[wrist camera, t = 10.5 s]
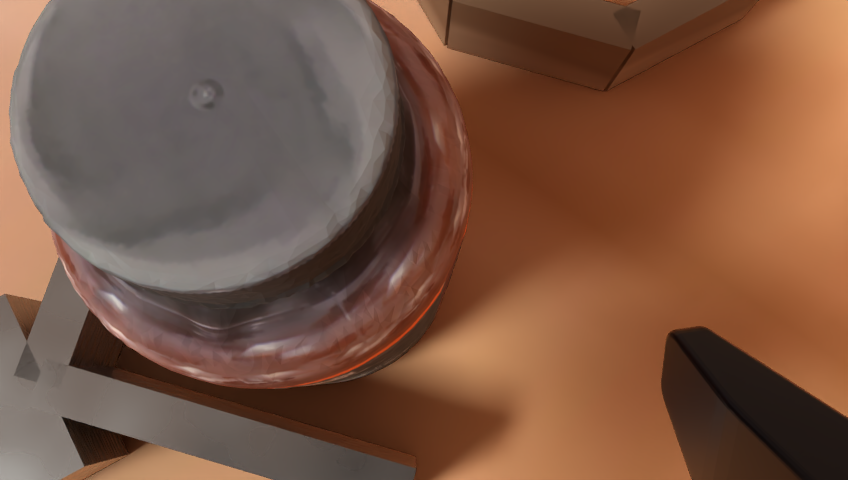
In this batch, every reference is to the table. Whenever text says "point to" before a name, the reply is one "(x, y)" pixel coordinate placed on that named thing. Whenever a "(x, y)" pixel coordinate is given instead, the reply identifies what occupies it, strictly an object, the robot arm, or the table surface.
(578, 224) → the table surface
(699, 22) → the walnut collar
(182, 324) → the supplement bottle
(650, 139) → the table surface
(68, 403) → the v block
